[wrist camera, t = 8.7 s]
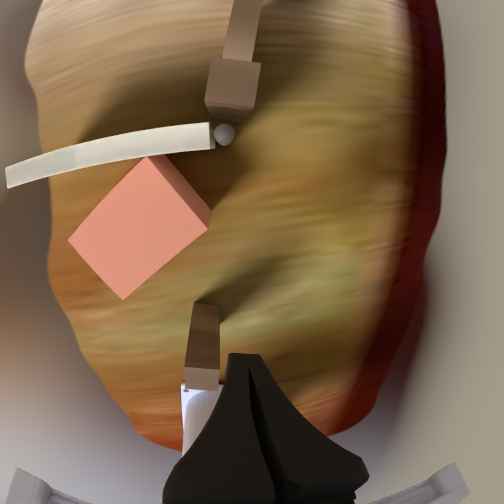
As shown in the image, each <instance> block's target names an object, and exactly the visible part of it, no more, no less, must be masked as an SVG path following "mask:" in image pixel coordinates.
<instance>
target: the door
mask: <svg viewBox="0 0 504 504" xmlns="http://www.w3.org/2000/svg"><path fill="white" fill-rule="evenodd" d="M212 148H215V137H214V131H213V130H212V128H211V126H210V124H209V122H206V123H195V124H186V125H177V126H169V127H162V128H155V129H148V130H142V131H136V132H131V133H126V134H120V135H115V136H111V137H106V138H101V139H97V140H93V141H89V142H85V143H81V144H77V145H73V146H70V147H66V148H63V149H59V150H56V151H52V152H49V153H46V154H43V155H40V156H37V157H34V158H31V159H28V160H25V161H23V162H20V163H17V164H15V165H12V166H9V167H7V168H5V172H6V181H7V188H10V187H14V186H16V185H20V184H23V183H26V182H30V181H33V180H37V179H40V178H44V177H47V176H51V175H55V174H59V173H63V172H67V171H71V170H75V169H80V168H84V167H89V166H94V165H98V164H103V163H109V162H114V161H120V160H125V159H131V158H138V157H144V156H151V155H158V154H166V153H175V152H184V151H194V150H205V149H212Z"/></svg>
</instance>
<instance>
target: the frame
mask: <svg viewBox="0 0 504 504" xmlns="http://www.w3.org/2000/svg"><path fill="white" fill-rule="evenodd" d="M262 2H263V0H234V4H233V8H232V12H231V17H230V21H229V26H228V30H227V35H226V40H225V45H224V50H223V55H222V58H216V57H212V60H211V65H210V70H209V75H208V81H207V87H206V92H205V98H204V102H205V105H206V107H207V109H208V111H209V114H210V116H211V118H212V119H214V120H224V121H233V122H240V123H243V122H244V120H245V119H246V118H247V116H248V115H249V114H250V112H251V111H252V109H253V108H254V106H255V99H256V93H257V87H258V81H259V74H260V68H261V63H257V62H252V56H253V50H254V45H255V39H256V34H257V28H258V23H259V18H260V12H261V7H262ZM214 137H215V139H216V141H217V142H218V143H219V144H220V145H222V146H227V145H229V144H230V143H231V141H232V140H233V139H234V137H235V130H234V128H233V127H232V126H231V125H229V124H221V125H219V126H217V127H216V129H215V131H214ZM219 374H220V305H214V304H203V303H194V305H193V311H192V317H191V324H190V331H189V338H188V345H187V352H186V359H185V389H193V390H204V391H218V383H219Z"/></svg>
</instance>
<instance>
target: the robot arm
mask: <svg viewBox="0 0 504 504" xmlns="http://www.w3.org/2000/svg"><path fill="white" fill-rule="evenodd" d="M181 397H182V415H183V429H184V437H183V453H182V458H181V459H180V460H179V461H178V463H177V464H176V465H175V466H174V468H173V470H172V472H171V474H170V476H169V477H168V479H167V481H166V482H165V483H164V485H163V488H162V494H161V504H355V503H354V499H356V495H355V492H354V491H355V490H357V489H358V488H359V487H361V486H362V485H363V484H364V483H365V482H366V481H367V480H368V478H369V473H368V471H367V468H366V466H365V464H364V462H363V460H362V458H361V457H359V456H357V455H355V454H353V453H351V452H350V451H348V450H346V449H344V448H342V447H341V446H339V445H338V444H336V443H335V442H333V441H332V440H330V439H329V438H328V437H326V436H325V435H324V434H323V433H321V432H320V431H319V430H318V429H316V428H315V427H314V426H313V425H312V424H311V423H310V422H309V421H307V420H306V419H305V418H304V417H303V416H302V414H301V413H300V412H299V411H298V410H297V409H296V408H295V407H294V406H293V404H292V403H291V402H290V401H289V400H288V398H287V397H286V396H285V394H284V393H283V392H282V390H281V389H280V387H279V386H278V384H277V383H276V382H275V380H274V378H273V377H272V375H271V374H270V372H269V370H268V369H267V367H266V365H265V363H264V361H263V360H262V358H261V356H260V355H259V354H242V353H230V354H229V355H228V361H227V367H226V373H225V380H224V385H220V384H218V391H204V390H193V389H187V390H186V389H185V382H183V383H182V384H181ZM470 495H471V492H470V490H469V488H468V486H467V484H466V483H465V481H464V479H463V477H462V475H461V473H460V472H459V470H458V468H457V466H456V465H455V463H452V464H450V465H448V466H446V467H444V468H442V469H441V470H439V471H437V472H436V473H435V474H433V475H432V476H431V477H429V479H427V480H425V481H423V482H421V483H419V484H417V485H415V486H412V487H410V488H408V489H406V490H403V491H401V492H399V493H396V494H393V495H391V496H388V497H385V498H383V499H380V500H377V501H374V502H371V503H368V504H459V503H461V502H462V501H463V500H465V499H466V498H468V497H469V496H470ZM5 504H92V503H88V502H85V501H82V500H80V499H77V498H74V497H72V496H69V495H67V494H64V493H62V492H60V491H57V490H55V489H53V488H51V487H50V486H49V485H48V484H47V483H46V482H44V481H43V480H41V479H39V478H37V477H35V476H33V475H31V474H30V473H28V472H26V471H24V470H22V469H20V468H16V471H15V473H14V476H13V480H12V482H11V486H10V489H9V492H8V496H7V500H6V503H5Z"/></svg>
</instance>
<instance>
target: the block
mask: <svg viewBox="0 0 504 504" xmlns="http://www.w3.org/2000/svg"><path fill="white" fill-rule="evenodd" d="M211 211H212V210H211V209H210V208H209V207H208V206H207V205H206V203H205V202H204V201H203V200H202V199H201V197H200V196H199V195H198V194H197V193H196V191H195V190H194V189H193V188H192V187H191V185H190V184H189V183H188V182H187V181H186V179H185V178H184V177H183V176H182V175H181V173H180V172H179V171H178V170H177V169H176V167H175V166H174V165H173V164H172V163H171V161H170V160H169V159H168V158H167V157H166V155H165V154H160V155H152V156H146V157H145V158H144V159H143V160H142V161H141V162H140V163H139V164H137V165H136V166H135V167H134V168H133V169H132V170H131V171H130V172H129V173H128V174H127V175H126V176H125V177H124V178H123V179H122V180H121V181H120V182H119V183H118V184H117V185H116V186H115V187H114V188H113V189H112V190H111V191H110V193H109V194H108V195H107V196H106V197H105V198H104V199H103V200H102V201H101V202H100V203H99V204H98V206H97V207H96V208H95V209H94V210H93V211H92V212H91V213H90V215H89V216H88V217H87V218H86V219H85V220H84V222H83V223H82V224H81V225H80V226H79V228H78V229H77V230H76V231H75V232H74V234H73V235H72V236H71V237H70V239H69V240H68V241H69V242H70V244H71V245H72V246H73V247H74V248H75V249H76V251H77V252H78V253H79V254H80V255H81V256H82V258H83V259H84V260H85V261H86V262H87V263H88V264H89V265H90V267H91V268H92V269H93V270H94V271H95V272H96V273H97V274H98V275H99V276H100V277H101V279H102V280H103V281H104V282H105V283H106V284H107V285H108V286H109V287H110V288H111V289H112V290H113V291H114V292H115V293H116V294H117V295H118V296H119V297H120V298H121V299H122V300H124V299H125V298H126V297H127V296H128V295H129V294H130V293H132V292H133V291H134V290H135V289H136V288H137V287H138V286H140V285H141V284H142V283H143V282H144V281H145V280H147V279H148V278H149V277H150V276H151V275H152V274H154V273H155V272H156V271H157V270H158V269H160V268H161V267H162V266H163V265H164V264H166V263H167V262H168V261H169V260H170V259H172V258H173V257H174V256H175V255H176V254H178V253H179V252H180V251H181V250H182V249H184V248H185V247H186V246H187V245H189V244H190V243H191V242H192V241H193V240H195V239H196V238H197V237H198V236H200V235H201V234H202V233H203V232H205V231H206V230H207V229H208V226H209V221H210V216H211Z"/></svg>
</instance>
